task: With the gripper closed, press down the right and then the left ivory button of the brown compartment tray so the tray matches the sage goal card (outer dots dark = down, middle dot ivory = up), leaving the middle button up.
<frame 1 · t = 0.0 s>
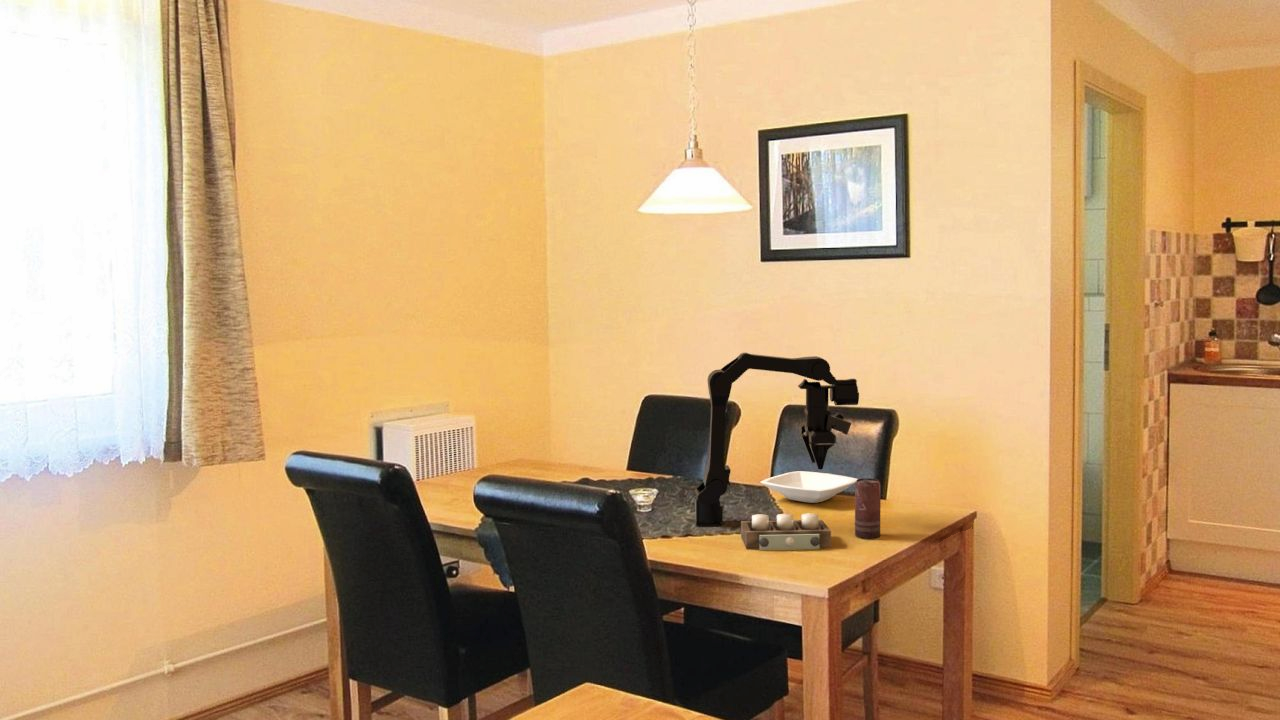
hand: (817, 465, 284), 15 cm above the table, fingers open, 9 cm apart
button mid: (785, 521, 264), point 5 cm above the table, slide at 0.0 cm
goal card: (789, 549, 258), on the table
brown compartment tray: (785, 542, 265), on the table
bowl: (809, 500, 311), on the table
can: (868, 537, 269), on the table
button left: (760, 522, 264), point 5 cm above the table, slide at 0.0 cm
button right: (809, 521, 264), point 5 cm above the table, slide at 0.0 cm
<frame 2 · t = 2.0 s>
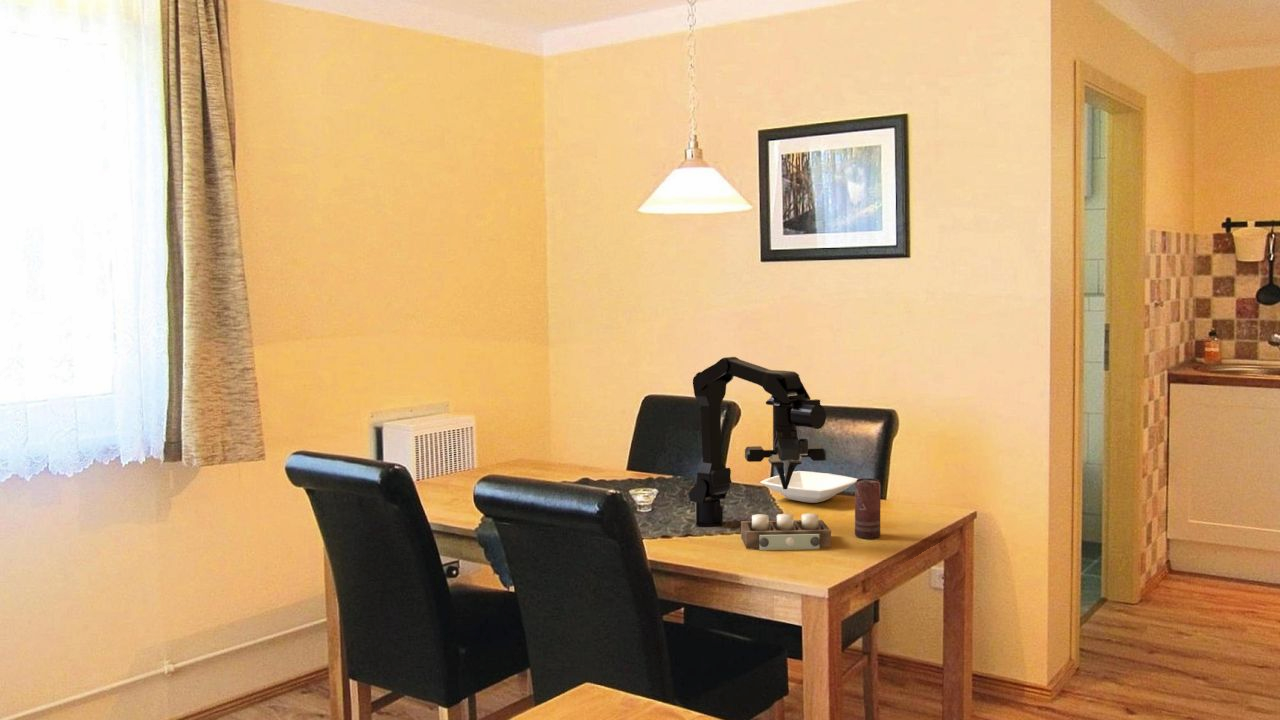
hand: (785, 489, 264), 13 cm above the table, fingers closed
nothing on the table moved.
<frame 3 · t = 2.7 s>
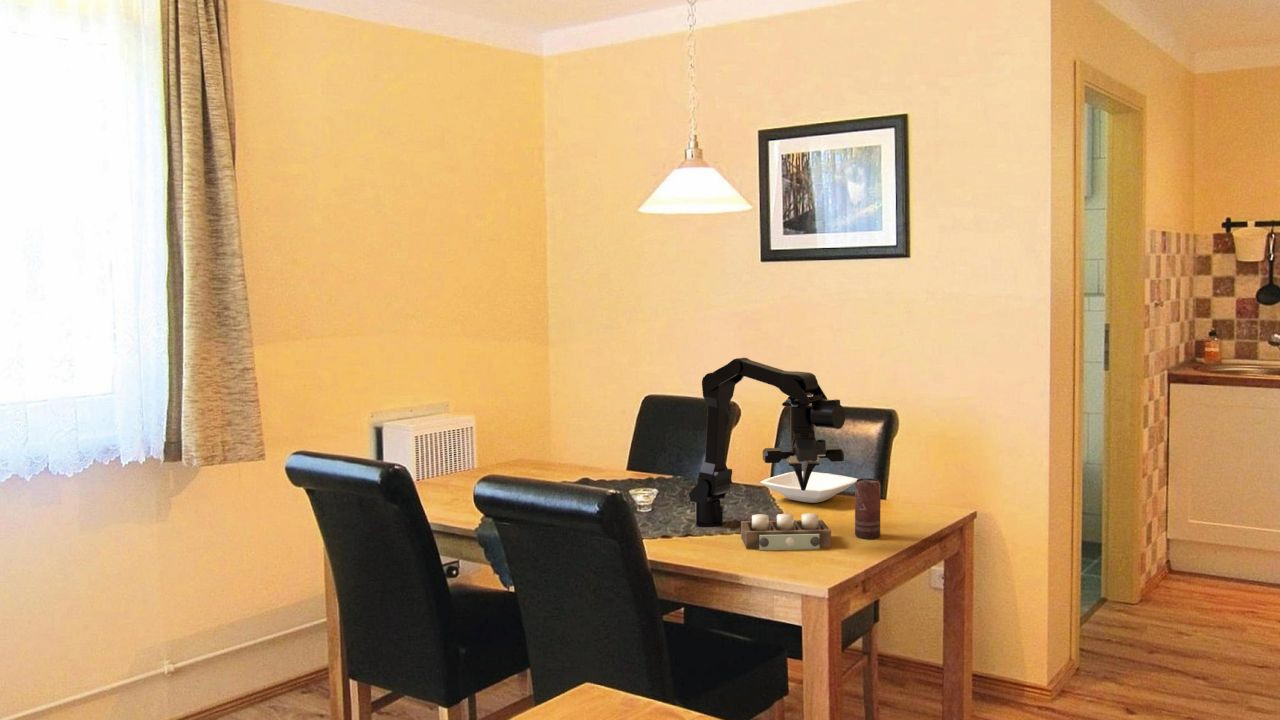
hand: (803, 490, 263), 13 cm above the table, fingers closed
nothing on the table moved.
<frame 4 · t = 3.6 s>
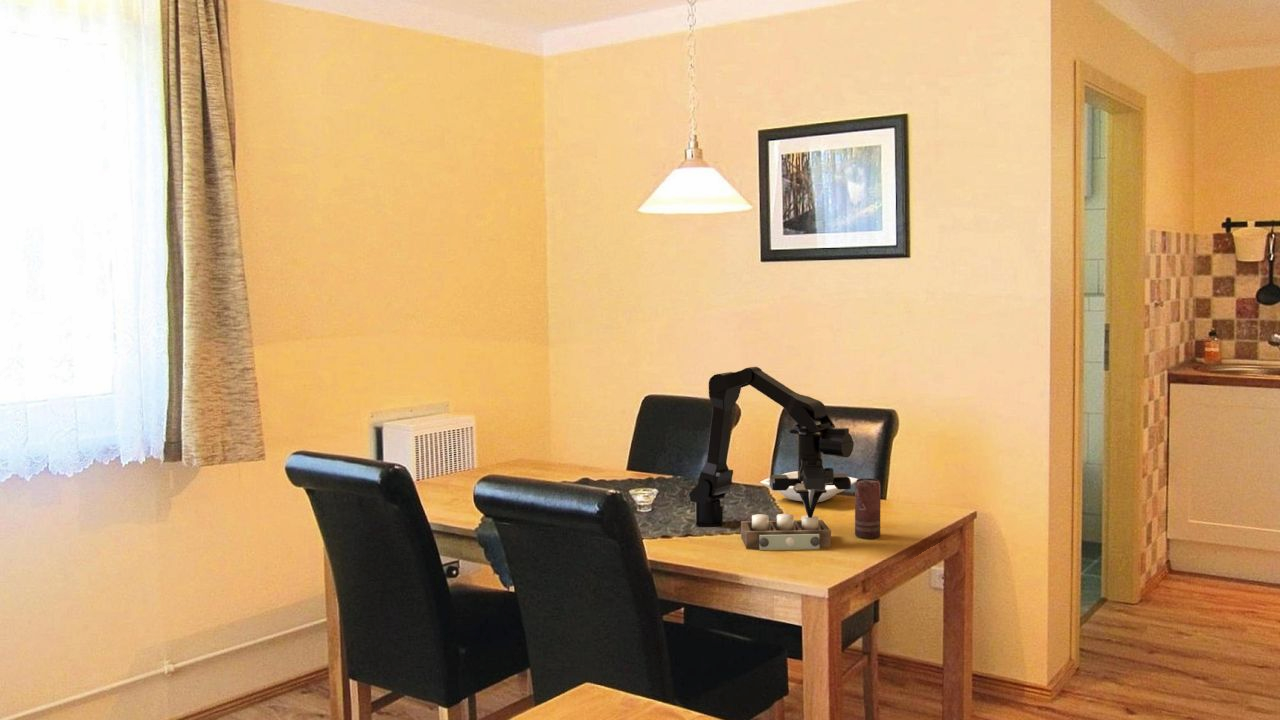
hand: (809, 517, 264), 6 cm above the table, fingers closed, pressing on button right
button right: (809, 523, 264), point 5 cm above the table, slide at 0.5 cm, touching gripper
everything else where it was.
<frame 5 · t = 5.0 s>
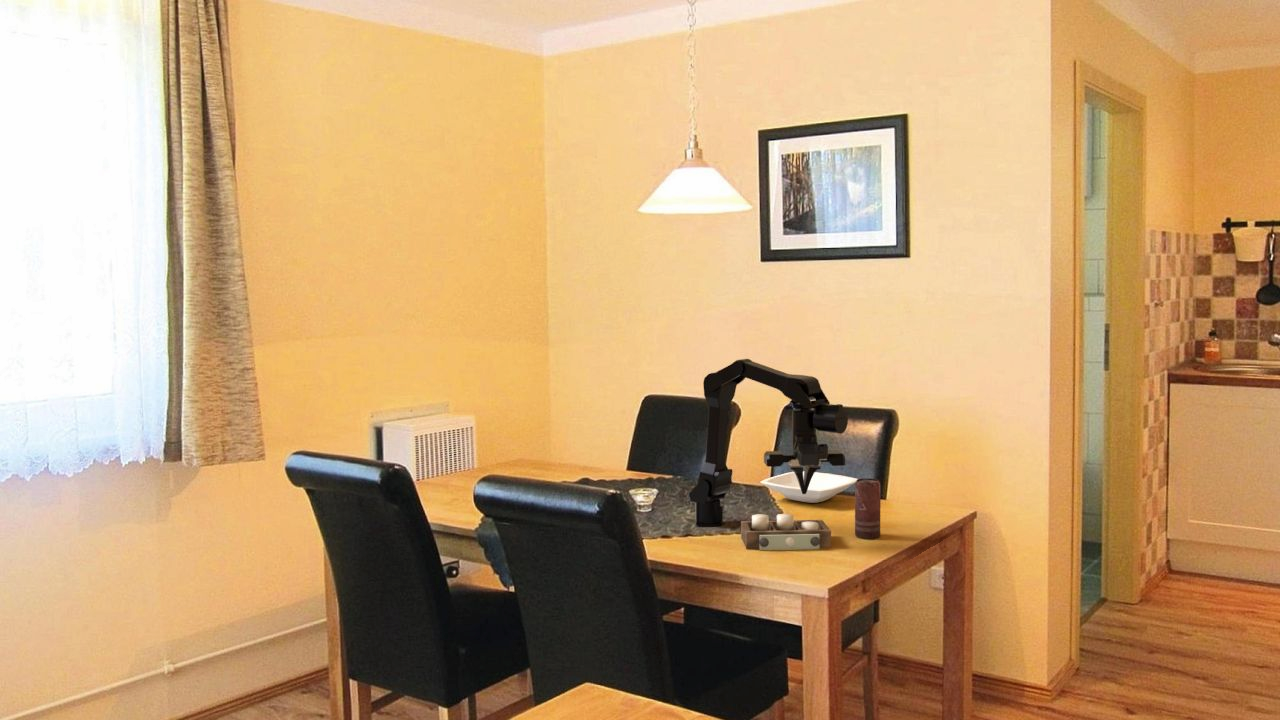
hand: (803, 493, 264), 12 cm above the table, fingers closed
button right: (809, 529, 265), point 3 cm above the table, slide at 2.0 cm
everything else where it was.
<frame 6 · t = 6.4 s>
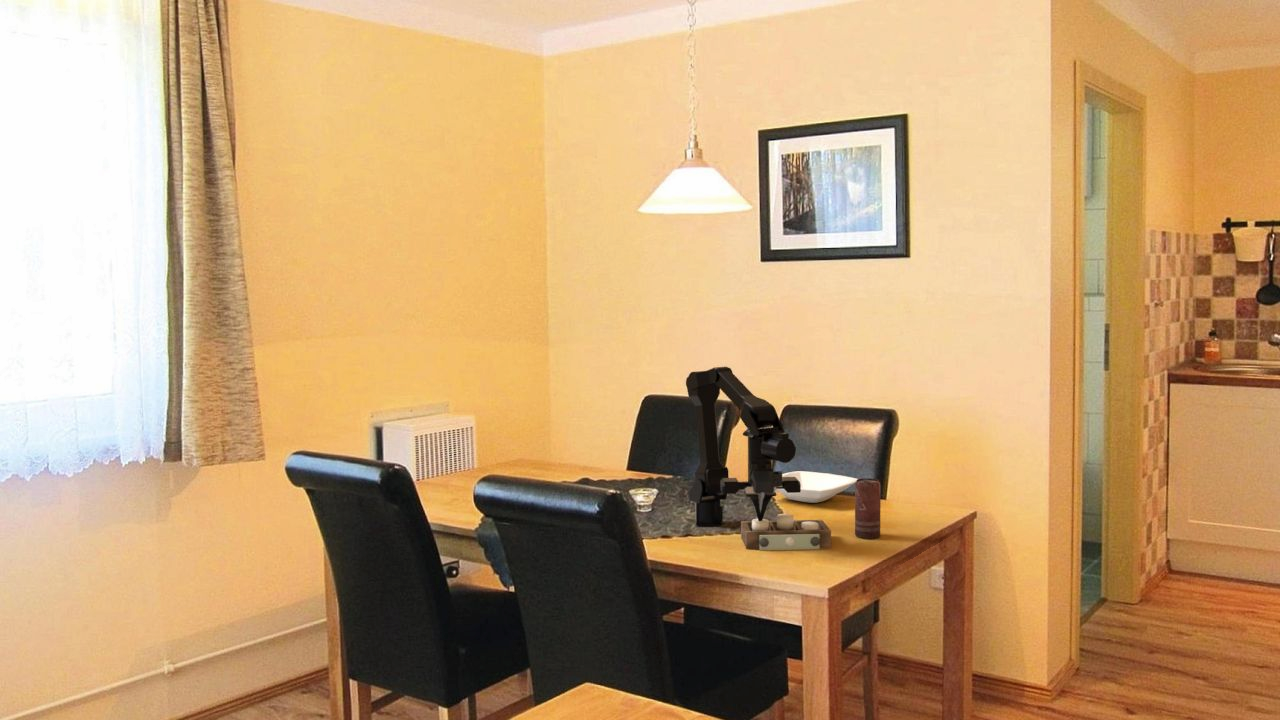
hand: (760, 520, 264), 5 cm above the table, fingers closed, pressing on button left
button left: (760, 526, 264), point 4 cm above the table, slide at 1.1 cm, touching gripper
everything else where it was.
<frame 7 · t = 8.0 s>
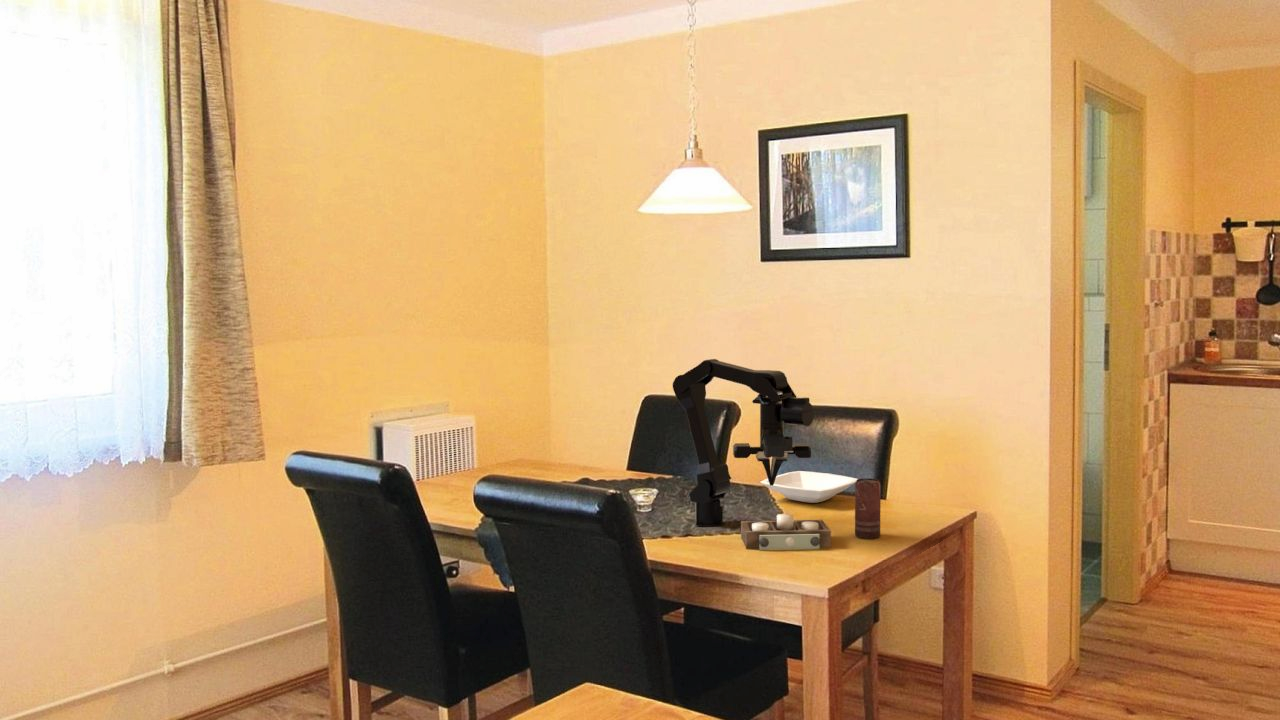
hand: (771, 485, 271), 12 cm above the table, fingers closed
button left: (760, 530, 264), point 3 cm above the table, slide at 2.0 cm
everything else where it was.
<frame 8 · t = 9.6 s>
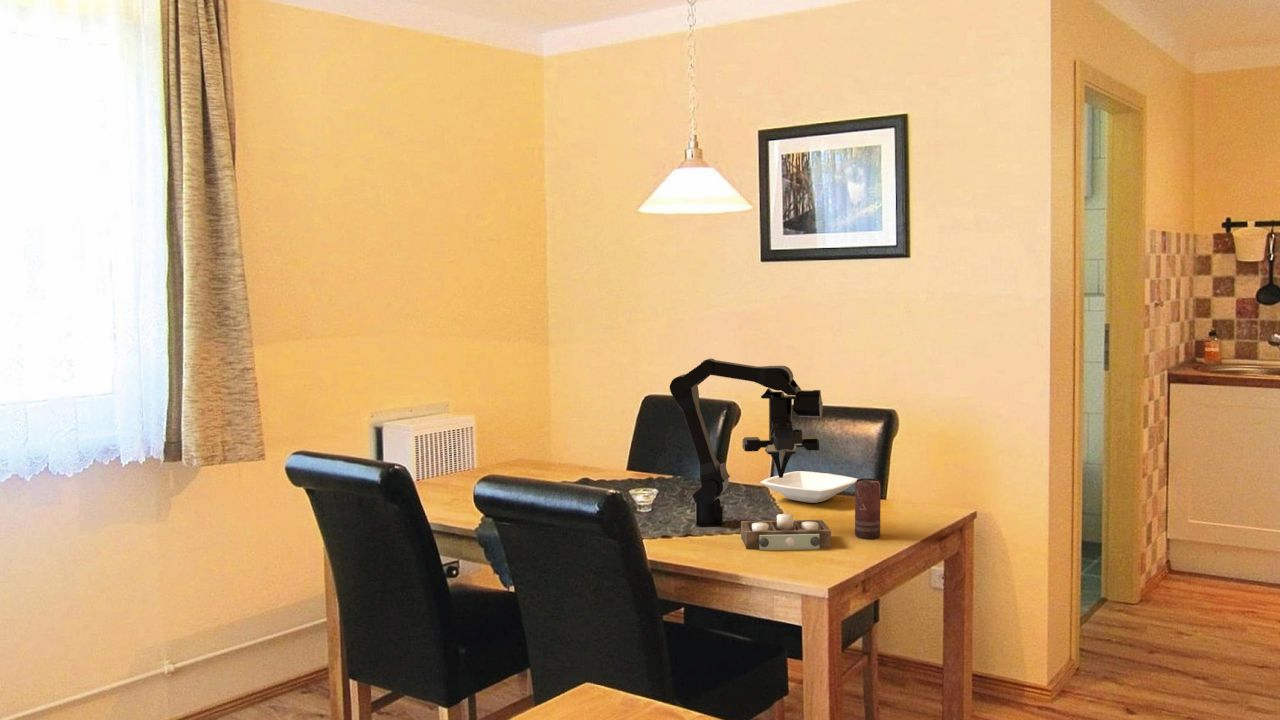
hand: (780, 477, 278), 13 cm above the table, fingers closed
nothing on the table moved.
at the end: button right slide at 2.0 cm; button left slide at 2.0 cm; button mid slide at 0.0 cm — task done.
